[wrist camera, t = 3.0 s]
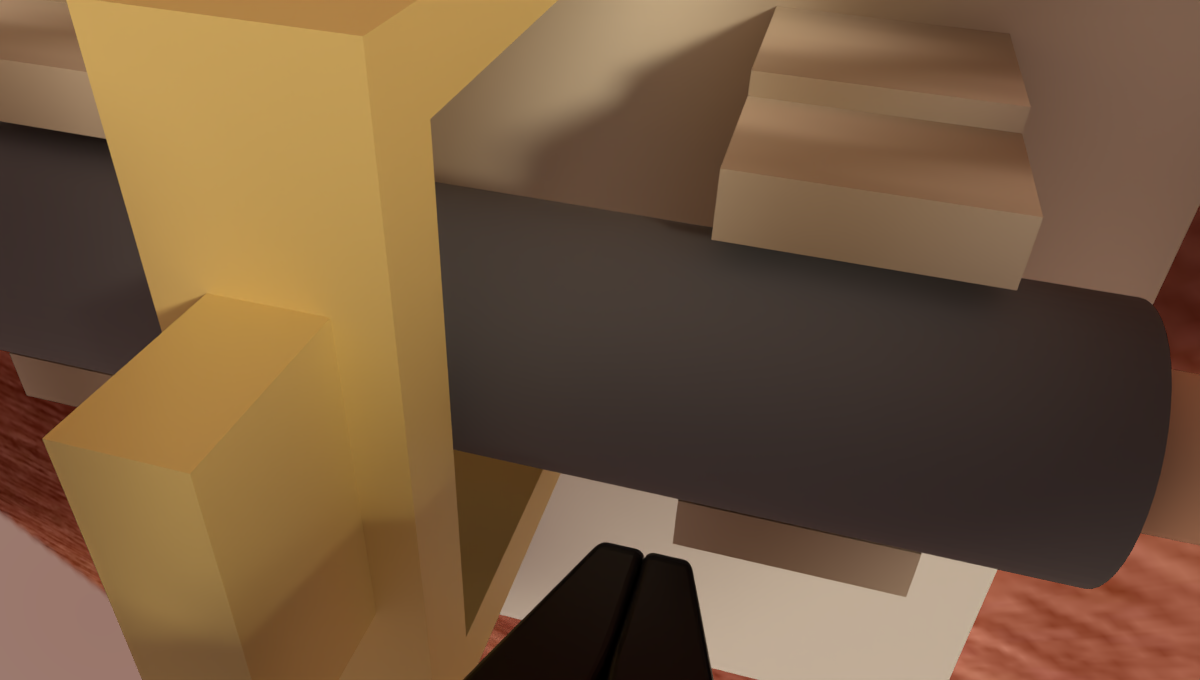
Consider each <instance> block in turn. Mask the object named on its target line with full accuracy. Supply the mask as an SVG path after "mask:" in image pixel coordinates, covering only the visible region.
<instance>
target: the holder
mask: <svg viewBox="0 0 1200 680" xmlns="http://www.w3.org/2000/svg"><path fill="white" fill-rule="evenodd" d="M0 121H2V122H8V123H14V124H20V125H26V126H32V127H38V128H44V129H50V130H56V131H62V132H68V133H74V134H80V135H86V136H92V137H98V138H104V139H106V137H105V133H104V130H103V126H102V123H101V119H100V116H99V112H98V109H97V105H96V102H95V98H94V95H93V91H92V88H91V85H90V81H89V78H88V74H87V71H86V67H85V64H84V60H83V57H82V53H81V50H80V46H79V43H78V39H77V36H76V33H75V29H74V26H73V22H72V19H71V15H70V12H69V8H68V5H67V1H66V0H0ZM430 122H431V136H432V151H433V165H434V179H435V182H439V183H445V184H452V185H458V186H464V187H470V188H476V189H482V190H488V191H494V192H500V193H506V194H513V195H519V196H525V197H531V198H537V199H543V200H549V201H555V202H561V203H567V204H574V205H580V206H586V207H592V208H598V209H604V210H610V211H616V212H622V213H628V214H635V215H641V216H647V217H653V218H659V219H665V220H671V221H677V222H683V223H689V224H696V225H702V226H708V227H713V230H712V238H711V240H717V241H723V242H729V243H735V244H741V245H747V246H753V247H759V248H765V249H771V250H777V251H783V252H789V253H795V254H801V255H807V256H813V257H819V258H825V259H831V260H837V261H843V262H849V263H855V264H861V265H867V266H873V267H879V268H885V269H891V270H897V271H903V272H909V273H915V274H921V275H927V276H933V277H939V278H945V279H951V280H957V281H963V282H969V283H975V284H981V285H987V286H993V287H999V288H1005V289H1011V290H1017V289H1018V286H1019V283H1020V281H1021V278H1025V279H1031V280H1037V281H1043V282H1049V283H1055V284H1061V285H1068V286H1074V287H1080V288H1086V289H1092V290H1098V291H1104V292H1110V293H1116V294H1122V295H1129V296H1135V297H1140V298H1143V299H1146V300H1147V301H1149V302H1150V303H1151V304H1152V305H1153V303H1154V301H1155V299H1156V297H1157V295H1158V293H1159V290H1160V288H1161V286H1162V284H1163V282H1164V280H1165V278H1166V275H1167V273H1168V271H1169V269H1170V267H1171V265H1172V263H1173V261H1174V258H1175V256H1176V254H1177V252H1178V250H1179V248H1180V246H1181V243H1182V241H1183V239H1184V237H1185V235H1186V233H1187V231H1188V228H1189V226H1190V224H1191V222H1192V220H1193V218H1194V216H1195V214H1196V211H1197V209H1198V207H1199V205H1200V0H558V1H557V2H556V3H554V4H553V5H552V6H551V7H550V8H549V9H548V10H547V11H546V12H545V13H544V14H543V15H542V16H541V17H539V18H538V19H537V20H536V21H535V22H534V23H533V24H532V25H531V26H530V27H529V28H528V29H527V30H525V31H524V32H523V33H522V34H521V35H520V36H519V37H518V38H517V39H516V40H515V41H514V42H513V43H512V44H510V45H509V46H508V47H507V48H506V49H505V50H504V51H503V52H502V53H501V54H500V55H499V56H498V57H496V58H495V59H494V60H493V61H492V62H491V63H490V64H489V65H488V66H487V67H486V68H485V69H484V70H483V71H481V72H480V73H479V74H478V75H477V76H476V77H475V78H474V79H473V80H472V81H471V82H470V83H469V84H467V85H466V86H465V87H464V88H463V89H462V90H461V91H460V92H459V93H458V94H457V95H456V96H455V97H454V98H452V99H451V100H450V101H449V102H448V103H447V104H446V105H445V106H444V107H443V108H442V109H441V110H440V111H438V112H437V113H436V114H435V115H434V116H433V117H432V118H431V119H430ZM9 354H10V356H11V359H12V361H13V364H14V366H15V368H16V371H17V373H18V376H19V378H20V380H21V383H22V385H23V388H24V390H25V393H26V395H27V396H31V397H36V398H40V399H44V400H49V401H53V402H57V403H62V404H66V405H71V406H75V407H78V406H79V405H81V404H82V403H83V402H84V401H85V400H86V399H87V398H89V397H90V396H91V395H92V394H93V393H94V392H95V391H96V390H98V389H99V388H100V387H101V386H102V385H103V384H104V383H106V382H107V381H108V380H109V379H110V378H111V377H112V376H113V375H112V374H108V373H103V372H99V371H94V370H90V369H85V368H81V367H76V366H71V365H67V364H62V363H58V362H53V361H49V360H44V359H40V358H35V357H31V356H26V355H21V354H17V353H12V352H10V353H9ZM673 544H676V545H681V546H685V547H689V548H694V549H698V550H702V551H707V552H711V553H715V554H720V555H724V556H729V557H733V558H737V559H742V560H746V561H750V562H755V563H759V564H763V565H768V566H772V567H776V568H781V569H785V570H790V571H794V572H798V573H803V574H807V575H811V576H816V577H820V578H824V579H829V580H833V581H837V582H842V583H846V584H851V585H855V586H859V587H864V588H868V589H872V590H877V591H881V592H885V593H890V594H894V595H898V596H903V597H906V596H907V593H908V591H909V588H910V585H911V582H912V579H913V577H914V574H915V571H916V568H917V566H918V563H919V560H920V557H921V555H922V553H921V552H916V551H912V550H907V549H903V548H898V547H893V546H889V545H884V544H880V543H875V542H871V541H866V540H862V539H857V538H853V537H848V536H843V535H839V534H834V533H830V532H825V531H821V530H816V529H812V528H807V527H803V526H798V525H794V524H789V523H784V522H780V521H775V520H771V519H766V518H762V517H757V516H753V515H748V514H744V513H739V512H734V511H730V510H725V509H721V508H716V507H712V506H707V505H703V504H698V503H694V502H689V501H685V500H680V499H678V505H677V512H676V520H675V528H674V536H673Z"/></svg>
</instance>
